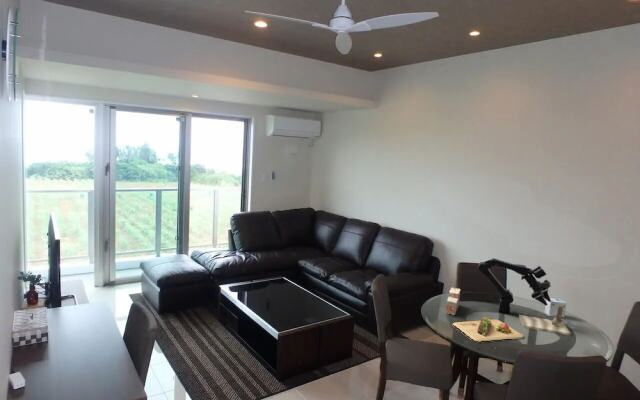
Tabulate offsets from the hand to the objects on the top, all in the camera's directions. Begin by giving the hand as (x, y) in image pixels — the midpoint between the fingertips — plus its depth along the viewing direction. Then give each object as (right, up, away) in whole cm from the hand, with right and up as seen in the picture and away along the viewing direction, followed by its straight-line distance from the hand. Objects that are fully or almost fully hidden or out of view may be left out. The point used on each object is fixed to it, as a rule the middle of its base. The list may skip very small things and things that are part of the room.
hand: (548, 303), depth 253 cm
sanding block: (+4, -13, -3) cm, 14 cm away
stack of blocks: (-58, -8, +15) cm, 61 cm away
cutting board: (-47, -14, -16) cm, 52 cm away
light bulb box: (+13, -12, +16) cm, 24 cm away
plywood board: (-5, -14, -3) cm, 15 cm away
